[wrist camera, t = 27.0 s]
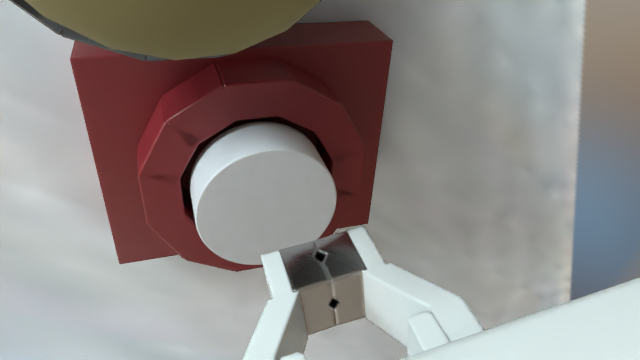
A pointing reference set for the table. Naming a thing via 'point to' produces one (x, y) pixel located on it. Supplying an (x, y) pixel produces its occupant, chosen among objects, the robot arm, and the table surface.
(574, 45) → the table surface
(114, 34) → the olive yellow knobbed peg
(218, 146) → the button
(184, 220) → the panel
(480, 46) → the table surface
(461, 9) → the table surface
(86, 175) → the table surface
